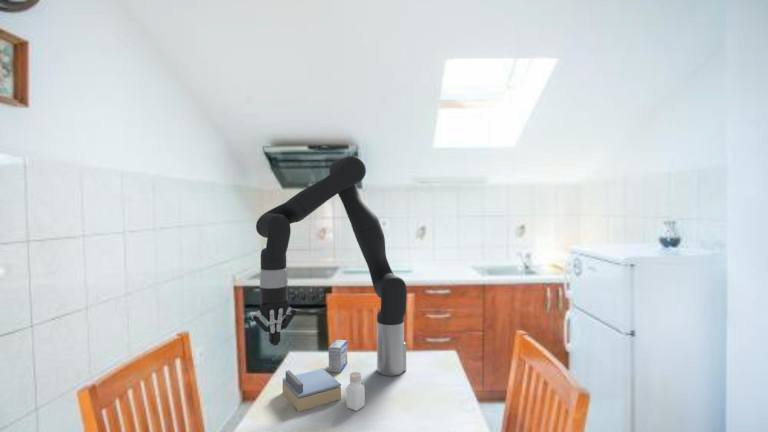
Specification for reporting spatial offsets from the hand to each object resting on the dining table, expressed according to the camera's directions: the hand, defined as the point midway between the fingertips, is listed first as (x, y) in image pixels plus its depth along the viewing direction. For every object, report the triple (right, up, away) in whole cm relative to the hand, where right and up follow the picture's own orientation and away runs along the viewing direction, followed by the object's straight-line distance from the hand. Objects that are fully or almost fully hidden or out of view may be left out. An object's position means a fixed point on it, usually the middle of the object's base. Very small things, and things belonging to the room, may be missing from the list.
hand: (274, 344), depth 117 cm
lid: (+9, -14, +7) cm, 18 cm away
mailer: (+9, -18, +7) cm, 21 cm away
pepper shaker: (+23, -18, 0) cm, 29 cm away
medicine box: (+15, -17, +27) cm, 35 cm away
